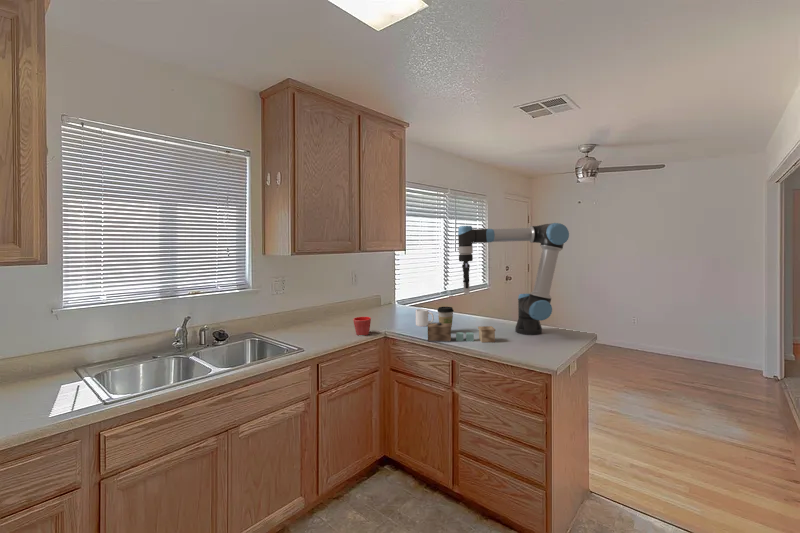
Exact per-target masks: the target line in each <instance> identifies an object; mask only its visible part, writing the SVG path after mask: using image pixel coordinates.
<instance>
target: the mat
mask: <svg viewBox="0 0 800 533" xmlns="http://www.w3.org/2000/svg"><path fill="white" fill-rule="evenodd" d="M428 342H429V343H431V342H432V343H436V342H437V343H450V341H428Z"/></svg>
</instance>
